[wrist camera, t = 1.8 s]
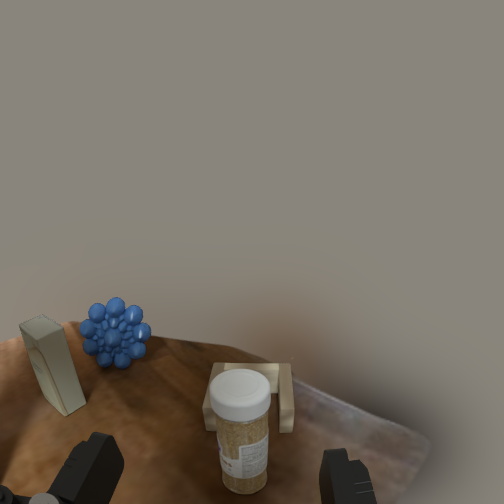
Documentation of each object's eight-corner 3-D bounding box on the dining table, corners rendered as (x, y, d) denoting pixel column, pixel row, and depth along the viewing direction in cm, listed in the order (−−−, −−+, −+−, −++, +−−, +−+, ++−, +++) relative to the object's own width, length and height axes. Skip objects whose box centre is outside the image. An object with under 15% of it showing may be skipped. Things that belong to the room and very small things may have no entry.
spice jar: (215, 470, 26) (200, 374, 23) (255, 457, 28) (253, 360, 25) (233, 502, 22) (222, 411, 19) (276, 486, 24) (282, 391, 21)
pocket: (206, 430, 32) (202, 407, 31) (216, 385, 41) (214, 362, 40) (292, 432, 32) (294, 409, 31) (288, 386, 40) (290, 363, 39)
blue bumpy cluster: (160, 352, 49) (149, 285, 45) (156, 376, 42) (143, 303, 39) (95, 353, 47) (80, 288, 44) (85, 376, 40) (65, 305, 37)
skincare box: (44, 398, 33) (16, 324, 30) (66, 385, 37) (42, 312, 34) (66, 418, 31) (34, 339, 28) (89, 403, 35) (63, 325, 31)
